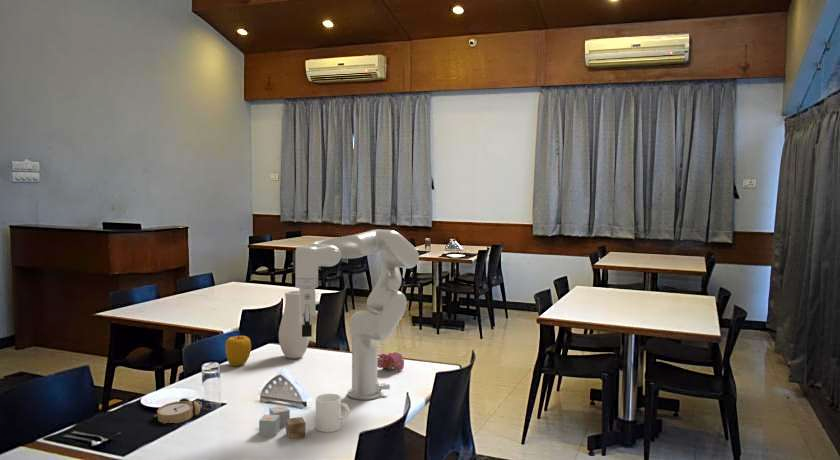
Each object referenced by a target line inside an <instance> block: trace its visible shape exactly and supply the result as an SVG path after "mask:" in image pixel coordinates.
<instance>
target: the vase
mask: <svg viewBox="0 0 840 460" xmlns="http://www.w3.org/2000/svg"><path fill="white" fill-rule="evenodd" d="M284 297H285V299H284V300H285V303H284V310H283V313H282V317H281V321H280V324H279V329H278V342H279V346H280V349H281V351H282V354H283V355H284V356H285V357H286V358H287V359H293V360H294V359H299V358H301V357H303V356H304V355H305V353H306V352H307V349H308V346H309V343H310V337H302V324H303V318H302V317H301V313H300V305H299V290H289V291H286V292H284Z"/></svg>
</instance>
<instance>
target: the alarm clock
mask: <svg viewBox="0 0 840 460" xmlns="http://www.w3.org/2000/svg"><path fill="white" fill-rule="evenodd" d="M202 406H203V403H202V401H200V400H190V399H189V398H187V397H183V398H181V399H180V400H179V401H173V402H169V403H166V404H164V405H161V406H159V408H158V409H157V410H156V412H157V414H155V415H153V417H154V418H157V420H158V422H160V423H161V422H162V423H161V424H166V423H175V424H180V423H184V422H185V421H188V420H190V419H191V418H193V416H195V417H196V416H198V415H199V414H200V412H201V409H203V407H202ZM194 414H195V415H194Z"/></svg>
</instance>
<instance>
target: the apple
mask: <svg viewBox="0 0 840 460" xmlns="http://www.w3.org/2000/svg"><path fill="white" fill-rule="evenodd" d="M224 349H225V356H226V359H227V362H228V363H229V365H230V366H232V367H238V366H239V367H240V366H242V365H245V364H246V363H247V361H248V359H249V358H250V355H251V351H252V341H251V339H250V337H249V336H246V335H236V336H235V335H234V336H230V337H228V338H227V339H226V341H225V348H224Z"/></svg>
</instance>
